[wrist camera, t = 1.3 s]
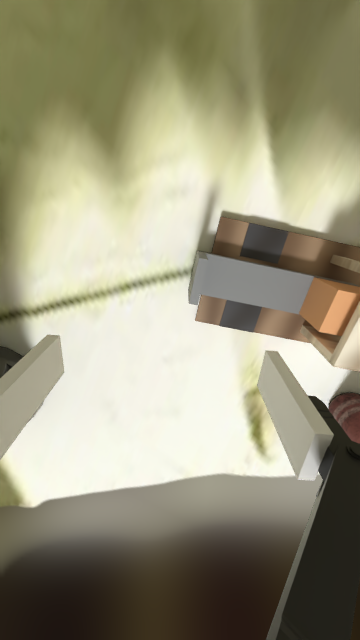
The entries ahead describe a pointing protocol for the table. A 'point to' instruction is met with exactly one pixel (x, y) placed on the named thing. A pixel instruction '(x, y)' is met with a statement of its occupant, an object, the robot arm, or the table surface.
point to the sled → (275, 290)
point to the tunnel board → (296, 255)
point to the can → (347, 414)
